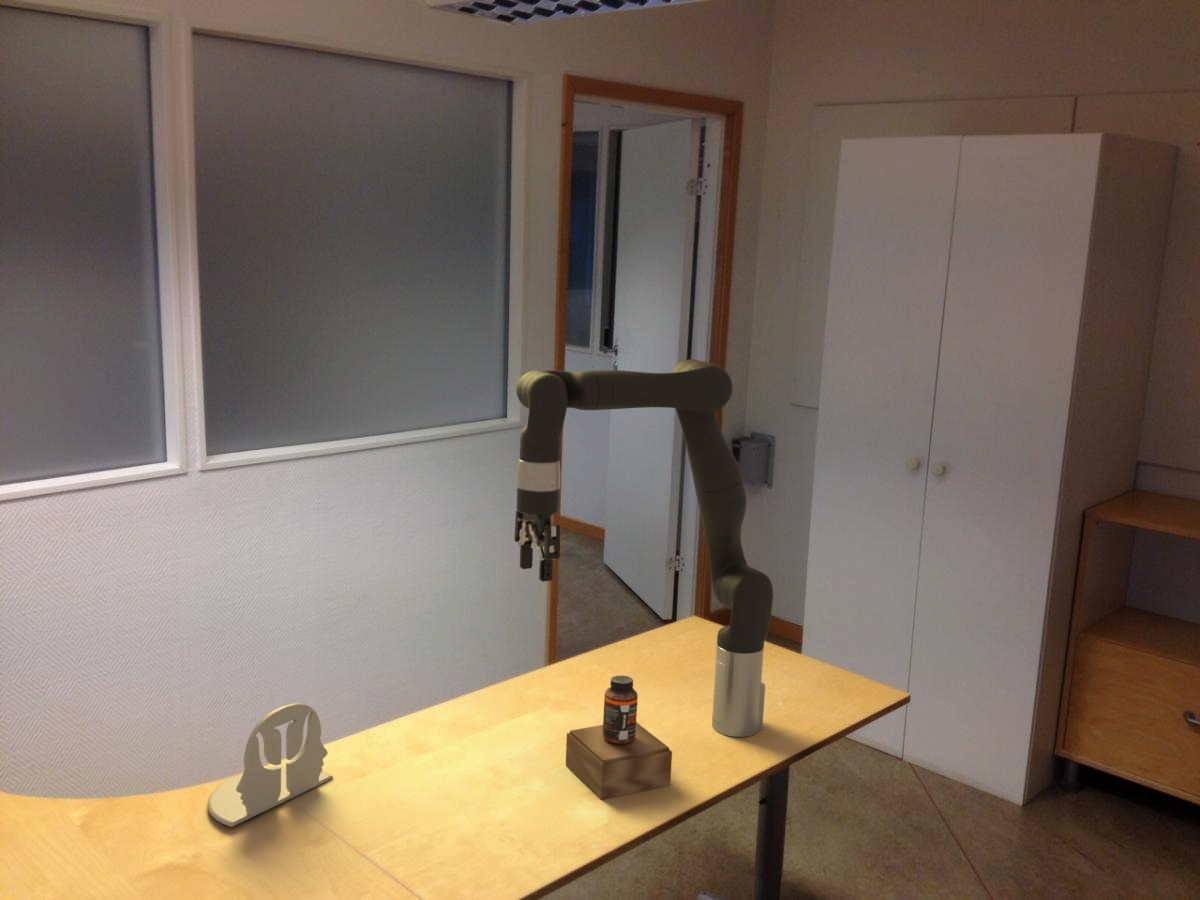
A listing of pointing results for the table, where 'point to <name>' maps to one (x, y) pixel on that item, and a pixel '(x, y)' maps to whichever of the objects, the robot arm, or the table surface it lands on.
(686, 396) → the robot arm
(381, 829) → the table surface
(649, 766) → the walnut block
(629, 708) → the supplement bottle
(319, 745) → the ornament
